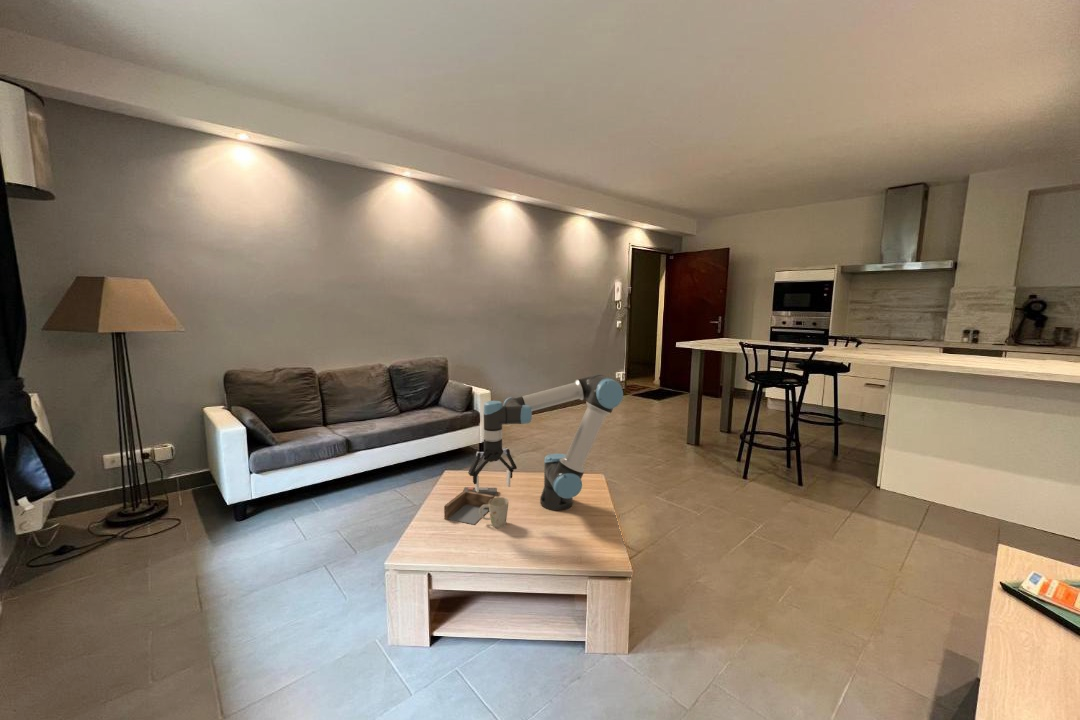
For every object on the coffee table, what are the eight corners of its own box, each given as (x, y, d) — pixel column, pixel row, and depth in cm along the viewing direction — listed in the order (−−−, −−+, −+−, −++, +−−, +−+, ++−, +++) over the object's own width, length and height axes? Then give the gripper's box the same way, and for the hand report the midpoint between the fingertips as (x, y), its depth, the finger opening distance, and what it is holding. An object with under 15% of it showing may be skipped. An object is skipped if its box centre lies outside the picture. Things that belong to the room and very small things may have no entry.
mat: (490, 509, 191) (490, 508, 191) (474, 524, 178) (474, 524, 178) (465, 504, 195) (465, 504, 195) (448, 519, 182) (448, 518, 182)
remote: (497, 491, 210) (496, 486, 209) (495, 495, 205) (495, 490, 205) (464, 491, 210) (464, 486, 210) (463, 495, 206) (462, 490, 205)
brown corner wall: (494, 508, 192) (494, 495, 191) (476, 525, 177) (476, 512, 176) (464, 502, 198) (464, 490, 197) (444, 519, 182) (444, 505, 182)
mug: (507, 529, 174) (507, 506, 173) (477, 528, 175) (476, 505, 173) (509, 519, 183) (509, 497, 181) (480, 518, 183) (480, 496, 182)
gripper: (518, 432, 182) (517, 480, 185) (460, 439, 172) (461, 489, 175) (524, 437, 176) (524, 486, 178) (465, 445, 165) (465, 497, 168)
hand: (492, 488), depth 177 cm, fingers open, 13 cm apart
